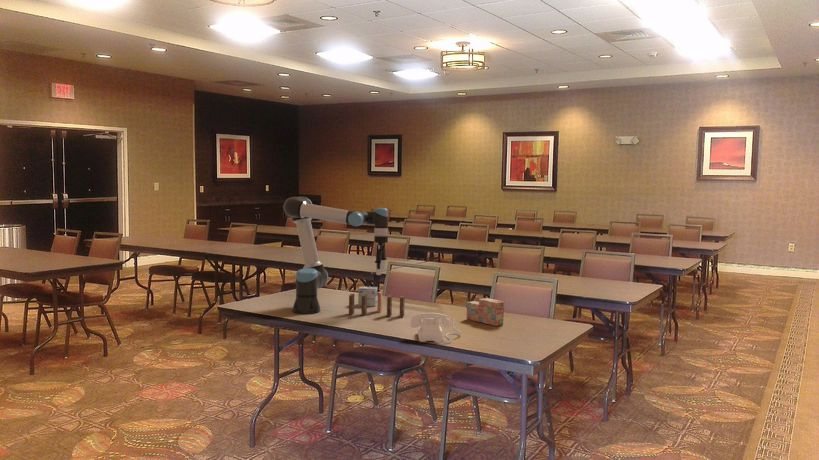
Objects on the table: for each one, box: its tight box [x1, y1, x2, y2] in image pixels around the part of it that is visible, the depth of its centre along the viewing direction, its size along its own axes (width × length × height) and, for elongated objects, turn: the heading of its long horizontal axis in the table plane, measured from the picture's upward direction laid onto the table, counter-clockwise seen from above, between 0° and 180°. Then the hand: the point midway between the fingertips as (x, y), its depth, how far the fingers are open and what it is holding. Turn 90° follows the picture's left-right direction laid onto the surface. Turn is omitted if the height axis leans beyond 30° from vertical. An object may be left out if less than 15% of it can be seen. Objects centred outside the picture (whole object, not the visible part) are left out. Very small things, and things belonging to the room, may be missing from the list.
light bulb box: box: [357, 286, 378, 307], centre depth 380 cm, size 11×7×11 cm, turn 84°
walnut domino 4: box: [399, 295, 406, 318], centre depth 349 cm, size 2×6×11 cm, turn 174°
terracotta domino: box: [376, 291, 383, 314], centre depth 362 cm, size 2×6×11 cm, turn 174°
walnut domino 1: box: [348, 293, 355, 316], centre depth 353 cm, size 2×6×11 cm, turn 174°
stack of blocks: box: [466, 297, 505, 327], centre depth 340 cm, size 21×6×12 cm, turn 40°
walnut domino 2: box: [360, 294, 368, 317], centre depth 352 cm, size 2×6×11 cm, turn 173°
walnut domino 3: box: [386, 294, 393, 318], centre depth 350 cm, size 2×6×11 cm, turn 174°
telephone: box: [410, 312, 463, 345], centre depth 301 cm, size 25×21×12 cm
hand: (380, 273), depth 361 cm, fingers open, 13 cm apart
